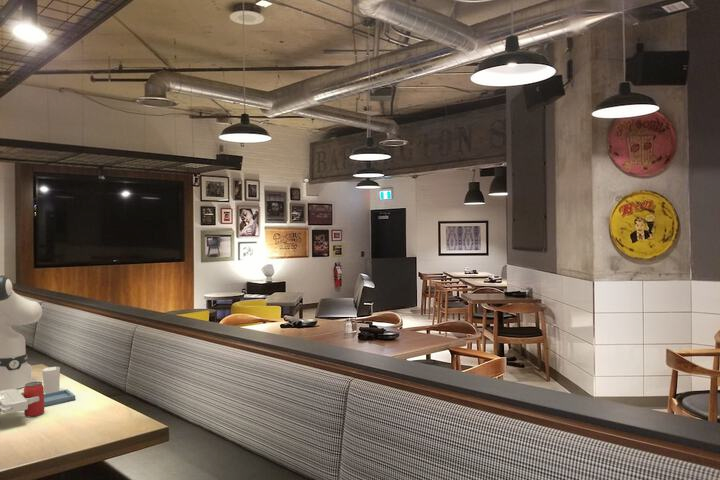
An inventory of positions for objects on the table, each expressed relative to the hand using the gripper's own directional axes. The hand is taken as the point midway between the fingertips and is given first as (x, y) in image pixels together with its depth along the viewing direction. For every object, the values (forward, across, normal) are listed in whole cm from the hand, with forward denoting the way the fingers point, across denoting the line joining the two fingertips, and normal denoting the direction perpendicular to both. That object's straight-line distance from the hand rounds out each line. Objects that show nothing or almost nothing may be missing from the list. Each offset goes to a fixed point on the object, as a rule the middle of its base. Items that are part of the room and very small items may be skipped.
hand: (36, 395), depth 200 cm
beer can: (-1, 0, +7) cm, 7 cm away
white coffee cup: (+11, +28, +7) cm, 31 cm away
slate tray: (+9, +13, +7) cm, 17 cm away
